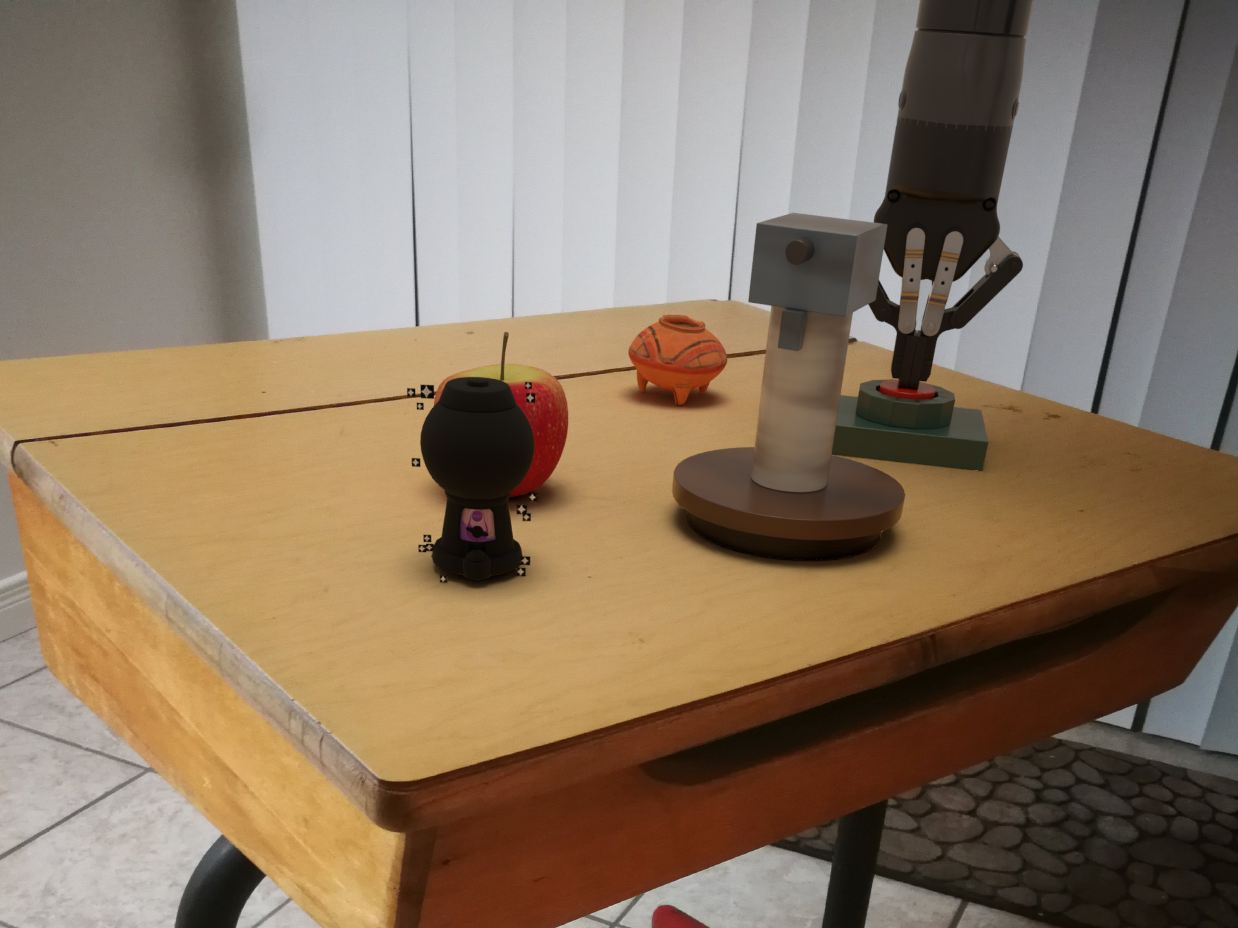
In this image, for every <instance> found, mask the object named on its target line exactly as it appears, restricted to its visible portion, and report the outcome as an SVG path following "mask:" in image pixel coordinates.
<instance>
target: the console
mask: <svg viewBox="0 0 1238 928" xmlns="http://www.w3.org/2000/svg"><path fill="white" fill-rule="evenodd" d="M889 380H898V379H895V378H892V379H871V380H867V381H864V382H861V383H859V387H858V392H857V393H858V394H857V396H852V395H843V394H841V395H840V402H839V408H838V415H837V422H836V428H835V435H834V441H833V448H832V455H834V456H838V457H847V458H848V457H849V458H856V459H857V458H858V459H865V460H866V459H867V460H875V461H884V462H894V463H902V464H910V465H911V464H912V465H919V466H920V465H921V466H931V467H938V468H947V469H956V470H964V469H966V470H965V471H973V470H978V471H977V472H983V469H984V465H985V461H986V456H987V451H988V447H989V438H988V433H987V429H986V424H985V420H984V416H983V411H982V409H976V408H967V407H957V406H955V403H956V397H955V393H954V392H952V391H950V390H948V389H946V388H944V387H942V386H939V385H934V384H930V383H927V382H923V381H920V383H924V384H927V385H930V386H932V387H933V388H935V396H934V398H933V399H918V400H914V399H905V398H897V397H893V396H889V395H885V394H882V393H880V392H879V389H880V384H881V383H882V382H884V381H889Z"/></svg>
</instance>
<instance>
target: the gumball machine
mask: <svg viewBox="0 0 1238 928" xmlns="http://www.w3.org/2000/svg"><path fill="white" fill-rule="evenodd" d="M419 387H420V399H426V400H427V399H430V400H435V385H434V384H420V386H419ZM525 389H532V382H525ZM406 395H407V397H408V398H410V397H411V398H416V388H415V387H414V388H413V387H412V388H411V387H407V388H406ZM535 395H536V393H526V402H531V403H535ZM416 410H417V411H418V410H419V411H424V410H425V404H424V402H416ZM419 445H420V453H421V457H422V459H423V462H424V464H425V467H426V470H427V472H428V474H429V476H430V477H431V479H432V480H433V481H434V482H435V483H436V484H437V485H438V486H439V487H440V488H441V489H442V490H443V491H444V494H445V497H446V504H445V509H444V517H443V522H442V531H441V536H440V537H439V538H437V539H436V540H435V542H434V543H432V534H422V535H423V536H422V537H423V540H422V541H423V543H425V544H417V545H418V546H417V547H418V548H417V550H418V553H427V552H431V559H432V562H433V564H434V565H435V566H437V567H438V568H439V569H441V570H443V571H446V572H448V573H451V574H456V575H460V576H463V577H464V578H466V579H469V580H477V581H478V580H480V581H481V580H487V579H488V578H490V577H492V576H493V577H494V576H499V575H500V576H501V575H504V574H507V573H510V572H513V571H515V570H516V577H526V575H527V567H521V566H531V555H530V556H529V555H528V556H527V555H525V556H524V555H523V550H522V546H521V544H520V542H518V541H517V540H516V539H515V538H514V533H513V526H512V519H511V513H510V512H511V511H510V505H509V499H510V497H509V496H510V492H511V491H513V490H514V489H515V488H516V487H517V486H518V485H519V484H520V483H521V482H522V481H523V479H524V478H525V476H526V474H527V472H528V470H529V468H530V466H531V464H532V460H533V456H534V448H535V445H534V436H533V431H532V428H531V425H530V423H529V421H528V419H527V417H526V416H525V414H524V412H523V411H522V409H521V408H520V407H519V406H518V405H517V403H516V401H515V398H514V396H513V393H512V391H511V388H510V386H509V385H508V384H507V383H505V382H504V381H501V380H497V379H492V378H485V377H461V378H456V379H452V380H449V381H448V382H447V383H446V384H445V386H444V389H443V391H442V393H441V396H440V398H439V401H438V402H437V403H436V404H435V405H434V404H433V407H432V408H431V409H430V410H429V411H428V414H427V415H426V416H425V419H424V421H423V423H422V427H421V431H420V440H419ZM421 466H422V465H421V458H420V457H411V467H413V468H414V467H415V468H419V467H420V468H421ZM528 502H533V503H534V502H538V492H529V493H528ZM516 515H522V522H532V513H531V512H528V504H527V503H526V504H525V503H518V504H516ZM439 583H444V584H445V583H448V575H441V574H440V575H439Z"/></svg>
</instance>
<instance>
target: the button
mask: <svg viewBox="0 0 1238 928" xmlns="http://www.w3.org/2000/svg"><path fill="white" fill-rule="evenodd" d="M888 380H889V381H884V382H882V383H881V384H880V389H879V392H880V393H882V394H885V395H889V396H893V397H897V398H905V399H914V400H918V399H933V398H934V396H935V388H933V387H932V386H930V385H927V384H928V383H927V384H924V383H925V382H922V383H920V382H921V381H920V382H919V387H918V389H909V388H900V387H898V379H897V380H895V379H894V380H890V379H888Z"/></svg>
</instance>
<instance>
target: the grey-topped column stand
mask: <svg viewBox="0 0 1238 928" xmlns="http://www.w3.org/2000/svg"><path fill="white" fill-rule="evenodd" d="M886 231H887V224H882V223H874V221H872V222H871V221H865V220H855V219H848V218H842V217H841V218H840V217H832V216H830V217H829V216H823V215H817V214H816V215H813V214H809V213H808V214H807V213H798V212H790V213H787V214H783V215H780V216H777V217H774V218H770V219H766V220H763V221H759V222H756V226H755V235H754V245H753V253H752V263H751V273H750V280H749V291H748V300H747V301H748V303H750V304H755V305H756V304H757V305H764V306H769V307H770V313H769V319H768V321H769V322H768V330H767V339H766V347H765V356H764V363H763V372H762V381H761V388H760V398H759V406H758V415H757V424H756V432H755V440H754V446H743V447H742V446H741V447H727V448H719V449H713V450H708V451H703V452H700V453H696V454H693V455H690V456H688V457H686V458H684V459H683V460H681V461H680V462H679V463H677V465H676V466H675V467H674V469H673V474H672V475H673V476H672V487H671V492H672V497H673V499H674V501H675V502H676V503H677V504H678V505H679V506H680V507H681V508H682V509H684V510H685V511H686V512H687V511H688V512H690V513H691V514H693V515H695V516H697V517H699V518H701V519H704V520H706V521H708V522H711V523H714V524H717V525H720V526H723V527H726V528H730V529H733V530H737V531H742V532H746V533H751V534H756V535H761V536H768V537H775V538H785V539H796V540H842V539H851V538H858V537H864V536H869V535H873V534H877V533H880V532H886V531H887V530H889V529H891V528H893V527H894V526H895V525H896V524H898V523H899V522H900V521H901V519H902V515H903V510H904V505H905V499H906V492H905V489H904V487H903V486H902V484H901V483H900V482H899V481H898V480H896V479H895V478H894V477H892V476H891V475H890V474H888V473H885V472H884V471H882V470H880V469H878V468H876V467H873V466H871V465H868V464H865V463H863V462H860V461H857V460H853V459H850V458H847V457H846V458H845V457H843V456H839V455H832V448H833V441H834V435H835V428H836V422H837V415H838V408H839V402H840V395H842V387H843V381H844V374H845V369H846V361H847V355H848V348H849V342H850V334H851V328H852V322H853V315H854V312H856V311H858V310H861V309H862V308H864V307H866V306H869V305H868V304H869V303H871V302H873V301H875V300H876V294H877V287H878V281H879V280H880V273H881V268H882V262H883V255H884V243H885V237H886Z"/></svg>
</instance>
